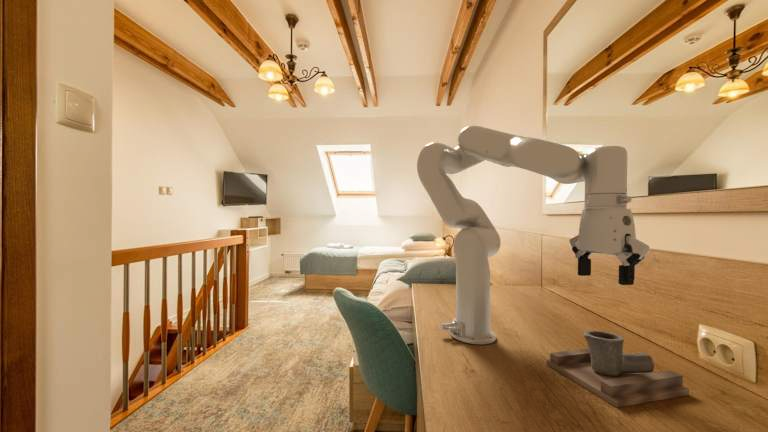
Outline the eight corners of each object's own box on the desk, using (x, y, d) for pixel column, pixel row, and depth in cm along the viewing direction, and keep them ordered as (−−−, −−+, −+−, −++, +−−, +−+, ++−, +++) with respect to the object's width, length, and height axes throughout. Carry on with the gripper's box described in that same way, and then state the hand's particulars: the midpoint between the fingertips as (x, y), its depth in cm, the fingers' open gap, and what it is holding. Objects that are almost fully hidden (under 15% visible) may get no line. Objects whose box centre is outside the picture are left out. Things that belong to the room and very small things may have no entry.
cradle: (616, 407, 52) (616, 389, 52) (546, 364, 68) (546, 350, 68) (689, 394, 56) (689, 378, 56) (607, 357, 72) (607, 344, 72)
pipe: (660, 381, 59) (660, 342, 59) (594, 378, 59) (594, 339, 60) (636, 367, 65) (636, 330, 65) (576, 364, 66) (576, 328, 66)
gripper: (662, 201, 57) (661, 288, 57) (584, 205, 74) (583, 272, 74) (632, 200, 56) (631, 289, 55) (559, 204, 72) (558, 272, 72)
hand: (603, 279), depth 65 cm, fingers open, 9 cm apart
